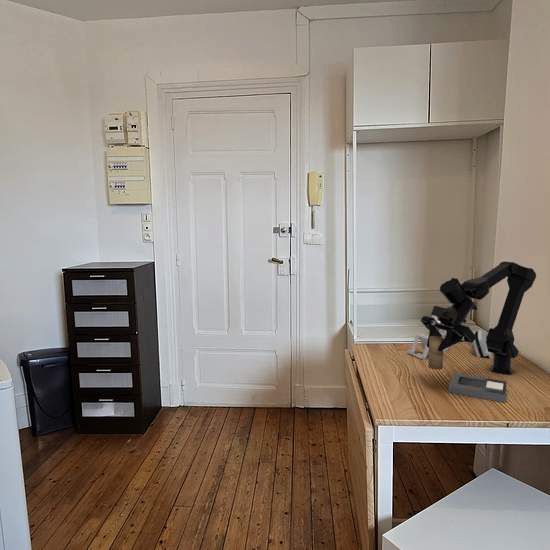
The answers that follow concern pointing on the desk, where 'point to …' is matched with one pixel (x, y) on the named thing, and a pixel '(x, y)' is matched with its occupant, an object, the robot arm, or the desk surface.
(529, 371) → the desk surface
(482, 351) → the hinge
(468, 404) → the desk surface
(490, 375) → the desk surface
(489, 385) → the hole plate
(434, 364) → the walnut peg
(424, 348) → the portable electronic device stand
